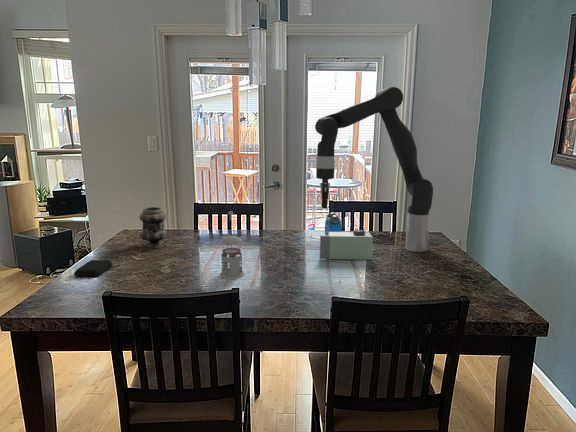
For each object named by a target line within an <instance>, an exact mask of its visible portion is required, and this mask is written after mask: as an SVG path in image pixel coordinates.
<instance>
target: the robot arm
mask: <svg viewBox="0 0 576 432" xmlns="http://www.w3.org/2000/svg"><path fill="white" fill-rule="evenodd" d="M403 101H404V94H403V92H402V90H401V89H400V88H398V87H396V86H389V87H385V88H383V89H380V90H378V91H377V92H376V93H375V96H374V97H372V98H371V99H368V100H366V101H362V102H359V103H357V104H354V105H351V106H348V107H346V108H344V109H342V110H339V111H338V112H335V113H332V114H329V115H324V116H323V117H321V118H319V119H317V121H316V122H315V125H314V126H315V127H314V129H315V131H316V133H317V134H319V135H321V139H320V141H319V142H318V144H317V147H316V149H317V153H316V155H317V156H316V164H315V166H316V168H315V169H316V170H315V172H316V173H315V174H316V175H315V178H316V179H317V180H318V179H319V180H321V181H320V182H319V187H320V198H321V208H322V209H324V210H325V209H327V208H328V199H329V195H330V187H331V183H330V182H329V180H333V179H334V178H335V166H336V165H335V162H336V161H335V160H336V159H335V145H336V142H337V138H338V132H339V129H344V128H348V127H349V126H352V125H355V124H356V123H358V122H361V121H362V120H364V119H366V118H369V117H371V116H374V115H376V114H378V113H379V115H380V117H381V119H382V122H383V123H384V126H385V128H386V132H387V133H388V136H389V139H390V142H391V145H392V148H393V151H394V153H395V156H396V158H397V161H398V164H399V166H400V168H401V171H402V174H403V177H404V182H405V185H406V190H407V192H408V194H409V195H410V196H411V203H410V205H409V206H408V207H407V219H406V232H405V233H406V235H405V247H404V248H405V250H406V251H409V252H412V253H423V252H428V246H429V235H430V233H429V232H430V231H429V230H428V228H429V218H430V209H431V208H432V204H433V196H434V195H433V194H434V186H433V184H432V182H431V181H429V179H426V178H424V177H423V175H422V173H421V171H420V168H419V164H418V151H417V146H416V142H415V140H414V137H413V134H412V132H411V131H410V130H409V128H408V127H407V126H406V125H405V124H404V123H403V121H402V120H401V119H400V117H399V114H398V111H397V109H398V107H400V106H401V105H402V103H403Z"/></svg>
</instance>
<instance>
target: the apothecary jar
mask: <svg viewBox="0 0 576 432" xmlns="http://www.w3.org/2000/svg"><path fill="white" fill-rule="evenodd" d="M165 219H167V215H166V213H165V212H164V210H163V208H162V207H158V206H149V207H144V208H142V213H141V214H140V215H139V220H140V221H141V222H142V231H141V232H140V234H139V235H140V237H139V238H141V240H144V241H147V243H145V244H143V248H144V249H150V250H153V249H154V250H155V249H160V248H163V247H165V246H166V243H165V242H164V241H163V242H162V240H165V238H166V237H167V235H168V232H167V230H166V229H165Z"/></svg>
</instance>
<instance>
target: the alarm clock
mask: <svg viewBox="0 0 576 432" xmlns="http://www.w3.org/2000/svg"><path fill="white" fill-rule="evenodd" d="M329 232H343V226H342V220H341V218H340V217H339V216H338V215H337V214H336V213H335V212H332V211H331V212H329V213H327V215H326V218H325V222H324V236H329Z"/></svg>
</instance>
